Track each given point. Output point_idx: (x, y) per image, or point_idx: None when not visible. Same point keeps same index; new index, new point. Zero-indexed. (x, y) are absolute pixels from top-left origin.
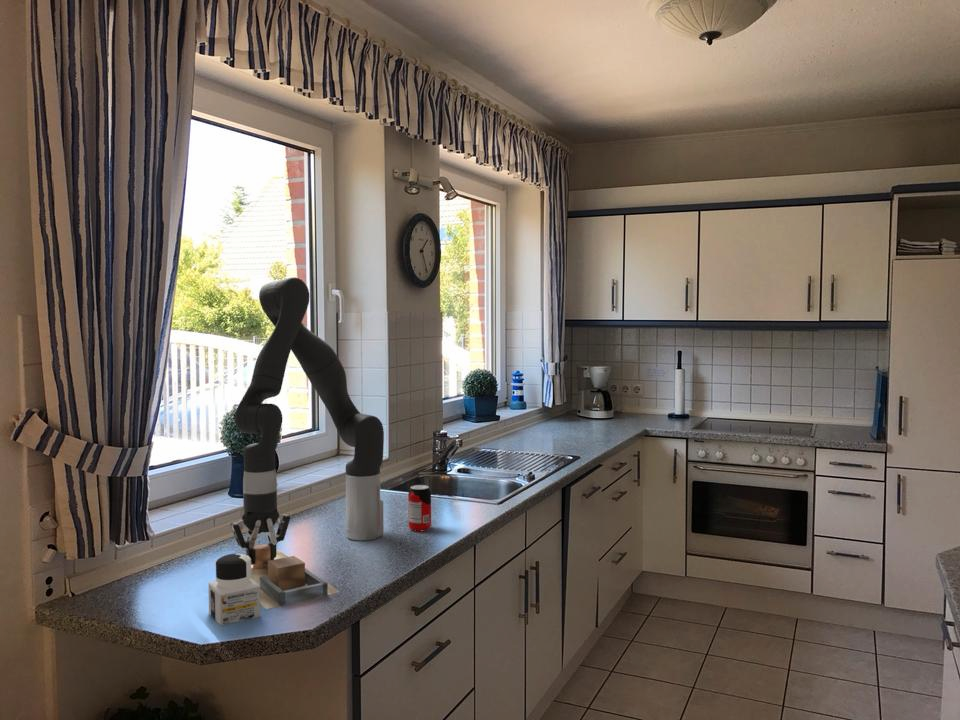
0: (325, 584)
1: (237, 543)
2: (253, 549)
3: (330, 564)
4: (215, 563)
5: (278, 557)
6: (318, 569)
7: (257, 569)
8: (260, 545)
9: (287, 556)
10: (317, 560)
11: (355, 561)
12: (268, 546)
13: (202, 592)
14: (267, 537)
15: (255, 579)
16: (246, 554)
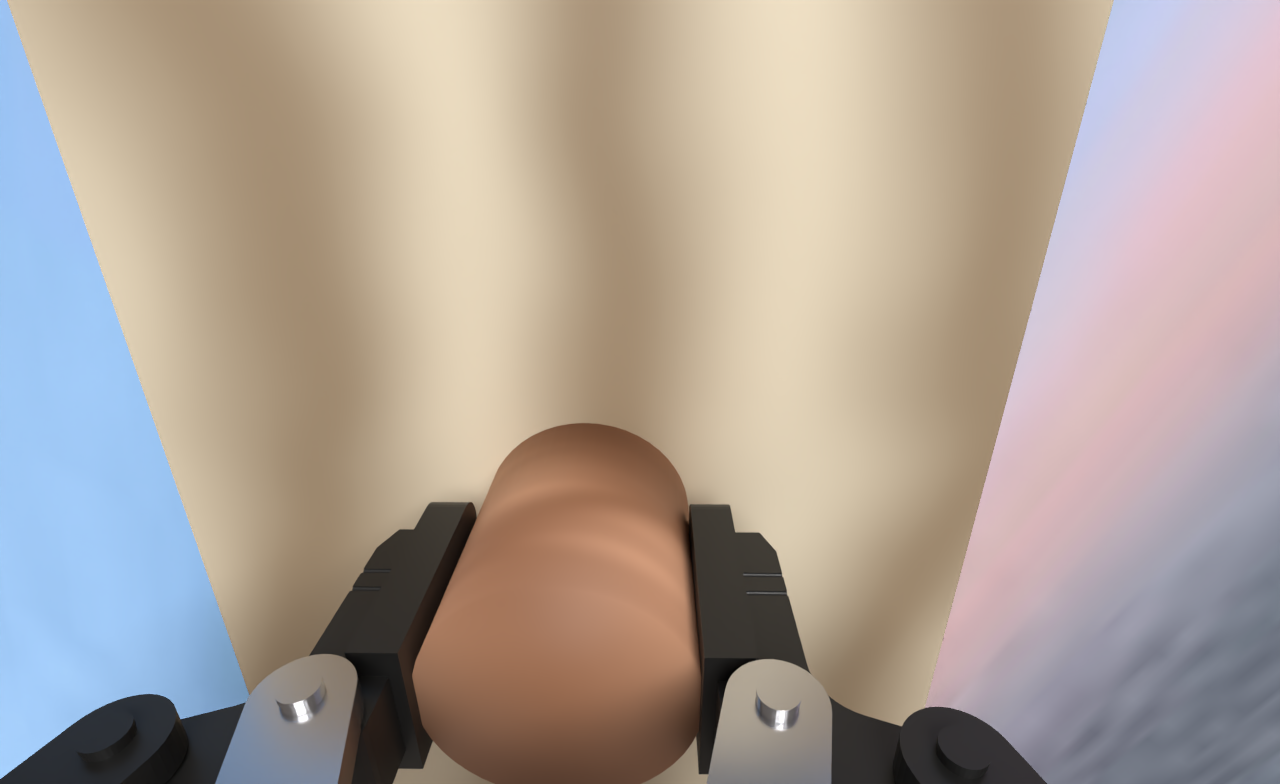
0: None
1: (55, 743)
2: (401, 763)
3: (1234, 607)
4: (23, 37)
5: (900, 317)
6: (1056, 657)
7: None
8: (575, 617)
9: (1011, 350)
10: (1255, 439)
11: None
12: (670, 722)
13: (26, 626)
14: (709, 770)
15: (431, 767)
16: (348, 595)
